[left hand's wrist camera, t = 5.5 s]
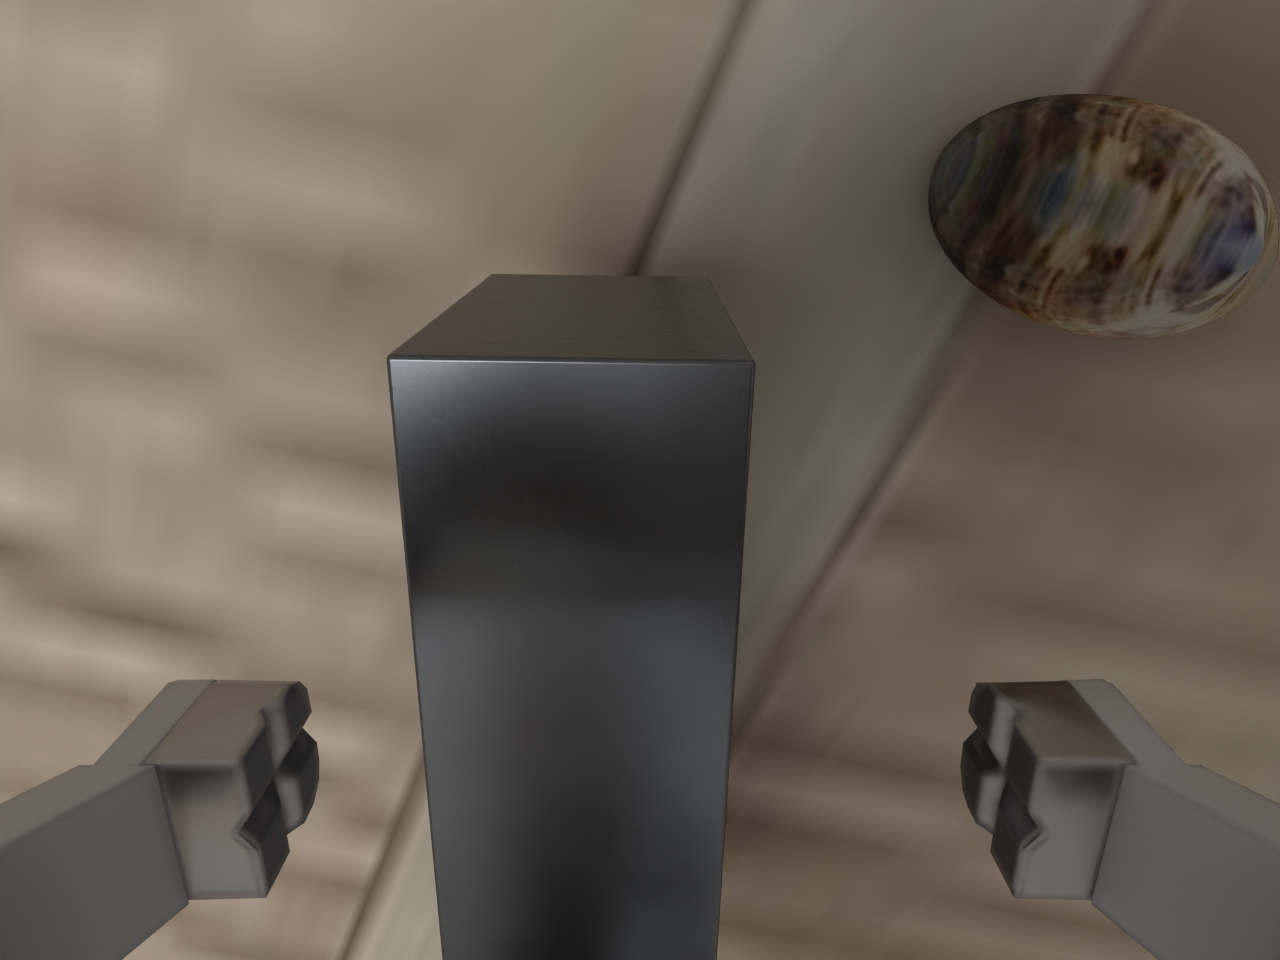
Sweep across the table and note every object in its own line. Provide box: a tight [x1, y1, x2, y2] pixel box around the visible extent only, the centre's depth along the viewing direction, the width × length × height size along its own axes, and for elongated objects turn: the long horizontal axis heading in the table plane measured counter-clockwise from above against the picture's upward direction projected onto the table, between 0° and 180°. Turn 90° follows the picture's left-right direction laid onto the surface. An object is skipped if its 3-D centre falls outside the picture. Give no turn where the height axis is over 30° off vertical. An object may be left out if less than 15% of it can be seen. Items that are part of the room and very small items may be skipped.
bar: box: [387, 274, 755, 960], centre depth 19 cm, size 26×5×8 cm, turn 179°
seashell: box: [928, 94, 1279, 339], centre depth 22 cm, size 10×6×8 cm, turn 73°
